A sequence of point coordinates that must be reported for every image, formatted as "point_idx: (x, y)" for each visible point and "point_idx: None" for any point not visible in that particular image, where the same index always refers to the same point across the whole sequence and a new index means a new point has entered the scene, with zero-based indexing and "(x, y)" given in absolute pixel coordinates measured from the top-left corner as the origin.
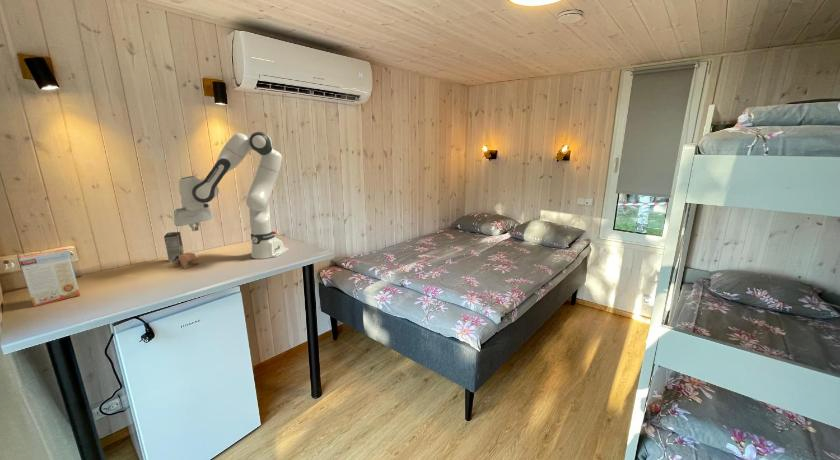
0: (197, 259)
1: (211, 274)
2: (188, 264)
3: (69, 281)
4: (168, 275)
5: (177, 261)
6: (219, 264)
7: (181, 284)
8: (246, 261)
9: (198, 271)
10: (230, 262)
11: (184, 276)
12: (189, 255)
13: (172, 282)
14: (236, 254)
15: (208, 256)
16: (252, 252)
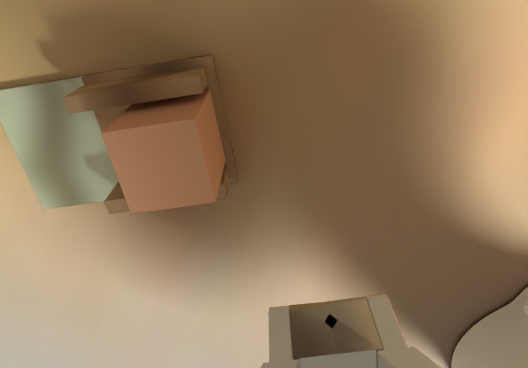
0: (225, 196)
1: (175, 363)
2: None
3: None
4: (15, 198)
5: (100, 108)
6: (300, 276)
7: (28, 362)
8: None
9: (161, 280)
10: (354, 297)
11: (76, 287)
12: (164, 208)
13: (4, 313)
14: (523, 191)
15: (424, 21)
16: (488, 362)
